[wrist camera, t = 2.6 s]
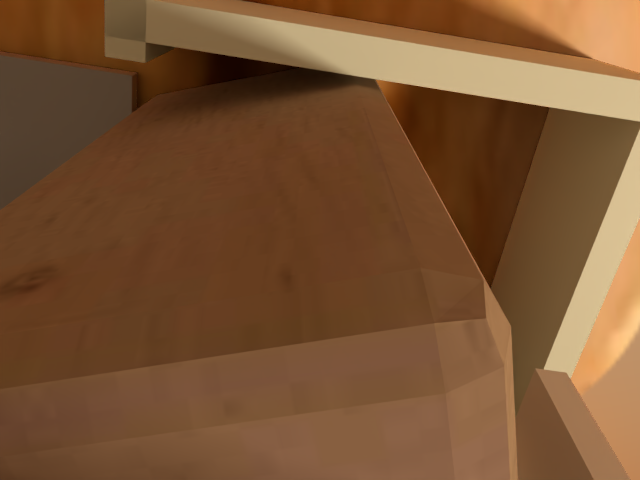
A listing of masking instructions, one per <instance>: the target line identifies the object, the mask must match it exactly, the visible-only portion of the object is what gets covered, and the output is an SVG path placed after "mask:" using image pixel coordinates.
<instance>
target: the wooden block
mask: <svg viewBox="0 0 640 480" xmlns="http://www.w3.org/2000/svg"><path fill="white" fill-rule="evenodd" d="M0 480H518V471H517V449H516V426H515V403H514V381H513V358H512V335H511V325H510V324H509V322H508V320H507V318H506V316H505V314H504V313H503V311H502V309H501V307H500V305H499V303H498V302H497V300H496V298H495V296H494V294H493V293H492V291H491V289H490V287H489V285H488V283H487V282H486V280H485V278H484V276H483V274H482V273H481V271H480V269H479V267H478V265H477V263H476V262H475V260H474V258H473V256H472V254H471V253H470V251H469V249H468V247H467V245H466V243H465V242H464V240H463V238H462V236H461V234H460V233H459V231H458V229H457V227H456V225H455V223H454V222H453V220H452V218H451V216H450V214H449V213H448V211H447V209H446V207H445V205H444V203H443V202H442V200H441V198H440V196H439V194H438V193H437V191H436V189H435V187H434V185H433V183H432V182H431V180H430V178H429V176H428V174H427V173H426V171H425V169H424V167H423V165H422V163H421V162H420V160H419V158H418V156H417V154H416V152H415V151H414V149H413V147H412V145H411V143H410V142H409V140H408V138H407V136H406V134H405V132H404V131H403V129H402V127H401V125H400V123H399V122H398V120H397V118H396V116H395V114H394V112H393V111H392V109H391V107H390V105H389V103H388V102H387V100H386V98H385V96H384V94H383V92H382V91H381V89H380V87H379V85H378V83H377V82H376V80H375V79H371V78H365V77H359V76H352V75H346V74H340V73H334V72H327V71H321V70H315V69H309V68H303V67H302V68H297V69H292V70H286V71H281V72H276V73H270V74H265V75H260V76H254V77H249V78H244V79H239V80H233V81H228V82H223V83H217V84H212V85H207V86H202V87H196V88H191V89H186V90H180V91H175V92H170V93H164V94H159V95H156V96H155V97H153V98H152V99H151V100H149V101H148V102H146V103H145V104H144V105H142V106H141V107H139V108H138V109H137V110H135V111H134V112H133V113H131V114H130V115H129V116H127V117H126V118H125V119H123V120H122V121H120V122H119V123H118V124H116V125H115V126H114V127H112V128H111V129H110V130H108V131H107V132H106V133H104V134H103V135H101V136H100V137H99V138H97V139H96V140H95V141H93V142H92V143H91V144H89V145H88V146H87V147H85V148H84V149H82V150H81V151H80V152H78V153H77V154H76V155H74V156H73V157H72V158H70V159H69V160H68V161H66V162H65V163H63V164H62V165H61V166H59V167H58V168H57V169H55V170H54V171H53V172H51V173H50V174H49V175H47V176H46V177H44V178H43V179H42V180H40V181H39V182H38V183H36V184H35V185H34V186H32V187H31V188H30V189H28V190H27V191H25V192H24V193H23V194H21V195H20V196H19V197H17V198H16V199H15V200H13V201H12V202H11V203H9V204H8V205H6V206H5V207H4V208H2V209H1V210H0Z"/></svg>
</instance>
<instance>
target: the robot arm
mask: <svg viewBox="0 0 640 480" xmlns="http://www.w3.org/2000/svg"><path fill="white" fill-rule="evenodd" d="M515 426H516V449H517V471H518V480H630V478H629V476H628V475H627V473H626V471H625V470H624V468H623V466H622V465H621V463H620V461H619V460H618V458H617V456H616V455H615V453H614V451H613V450H612V448H611V446H610V445H609V443H608V441H607V440H606V438H605V436H604V435H603V433H602V431H601V430H600V428H599V426H598V425H597V423H596V421H595V420H594V418H593V417H592V415H591V413H590V411H589V409H588V408H587V406H586V404H585V403H584V401H583V399H582V398H581V396H580V394H579V393H578V391H577V389H576V388H575V386H574V384H573V383H572V381H571V379H570V378H569V376H568V374H567V373H566V372H558V371H551V370H544V369H536V368H535V370H534V373H533V375H532V378H531V380H530V383H529V385H528V388H527V390H526V393H525V395H524V398H523V400H522V403H521V406H520V408H519V411H518V413H517V416H516V418H515Z"/></svg>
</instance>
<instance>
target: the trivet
mask: <svg viewBox="0 0 640 480" xmlns="http://www.w3.org/2000/svg"><path fill="white" fill-rule="evenodd" d="M137 90H138V73H136V72H130V71H124V70H117V69H111V68H104V67H98V66H92V65H85V64H79V63H73V62H66V61H60V60H53V59H47V58H41V57H34V56H28V55H21V54H15V53H9V52H2V51H0V210H1V209H2V208H4V207H5V206H6V205H8V204H9V203H11V202H12V201H13V200H15V199H16V198H17V197H19V196H20V195H21V194H23V193H24V192H25V191H27V190H28V189H30V188H31V187H32V186H34V185H35V184H36V183H38V182H39V181H40V180H42V179H43V178H44V177H46V176H47V175H49V174H50V173H51V172H53V171H54V170H55V169H57V168H58V167H59V166H61V165H62V164H63V163H65V162H66V161H68V160H69V159H70V158H72V157H73V156H74V155H76V154H77V153H78V152H80V151H81V150H82V149H84V148H85V147H87V146H88V145H89V144H91V143H92V142H93V141H95V140H96V139H97V138H99V137H100V136H101V135H103V134H104V133H106V132H107V131H108V130H110V129H111V128H112V127H114V126H115V125H116V124H118V123H119V122H120V121H122V120H123V119H125V118H126V117H127V116H129V115H130V114H131V113H133V112H134V111H135V110H137Z"/></svg>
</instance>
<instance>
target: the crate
mask: <svg viewBox="0 0 640 480" xmlns="http://www.w3.org/2000/svg"><path fill="white" fill-rule="evenodd" d="M104 8H105V57H110V58H117V59H123V60H129V61H136V62H142V63H146V62H148V61H150V60H152V59H154V58H156V57H158V56H160V55H162V54H164V53H166V52H168V51H170V50H172V49H174V48H176V47H178V48H184V49H190V50H197V51H203V52H209V53H215V54H221V55H228V56H234V57H240V58H246V59H253V60H259V61H265V62H271V63H278V64H284V65H290V66H296V67H303V68H309V69H315V70H321V71H327V72H334V73H340V74H346V75H352V76H359V77H365V78H371V79H377V80H384V81H390V82H396V83H402V84H409V85H415V86H421V87H427V88H434V89H440V90H446V91H452V92H458V93H465V94H471V95H477V96H483V97H490V98H496V99H502V100H508V101H515V102H521V103H527V104H533V105H540V106H546V107H550V108H549V112H548V115H547V118H546V121H545V124H544V127H543V130H542V133H541V136H540V139H539V142H538V145H537V148H536V151H535V154H534V157H533V160H532V164H531V167H530V170H529V173H528V176H527V179H526V182H525V185H524V188H523V191H522V194H521V197H520V200H519V203H518V206H517V209H516V212H515V215H514V219H513V222H512V225H511V228H510V231H509V234H508V237H507V240H506V243H505V246H504V249H503V252H502V255H501V258H500V261H499V264H498V267H497V271H496V274H495V277H494V280H493V283H492V286H491V291H492V293H493V294H494V296H495V298H496V300H497V302H498V303H499V305H500V307H501V309H502V311H503V313H504V314H505V316H506V318H507V320H508V322H509V324H510V325H511V335H512V358H513V381H514V403H515V418H516V416H517V413H518V411H519V408H520V406H521V403H522V400H523V398H524V395H525V393H526V390H527V388H528V385H529V383H530V380H531V378H532V375H533V373H534V370H535V368H536V369H544V370H551V371H558V372H566V373H567V374H568V376H569V378H570V379H571V376H572V374H573V372H574V369H575V367H576V365H577V362H578V360H579V358H580V355H581V353H582V351H583V349H584V346H585V344H586V342H587V339H588V337H589V335H590V332H591V330H592V328H593V325H594V323H595V321H596V318H597V316H598V314H599V311H600V309H601V307H602V304H603V302H604V300H605V297H606V295H607V293H608V290H609V288H610V286H611V283H612V281H613V279H614V276H615V274H616V272H617V269H618V267H619V265H620V262H621V260H622V258H623V256H624V253H625V251H626V249H627V246H628V244H629V242H630V239H631V237H632V235H633V232H634V230H635V228H636V225H637V223H638V221H639V218H640V73H638V72H634V71H631V70H628V69H624V68H621V67H618V66H615V65H611V64H608V63H605V62H601V61H598V60H595V59H589V58H583V57H577V56H571V55H565V54H559V53H553V52H547V51H541V50H535V49H529V48H523V47H517V46H511V45H505V44H499V43H493V42H487V41H481V40H475V39H469V38H463V37H458V36H452V35H446V34H440V33H434V32H428V31H422V30H416V29H410V28H404V27H398V26H392V25H386V24H380V23H374V22H368V21H362V20H356V19H350V18H344V17H338V16H332V15H326V14H320V13H314V12H308V11H302V10H296V9H290V8H284V7H278V6H272V5H266V4H260V3H254V2H248V1H242V0H104Z"/></svg>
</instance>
